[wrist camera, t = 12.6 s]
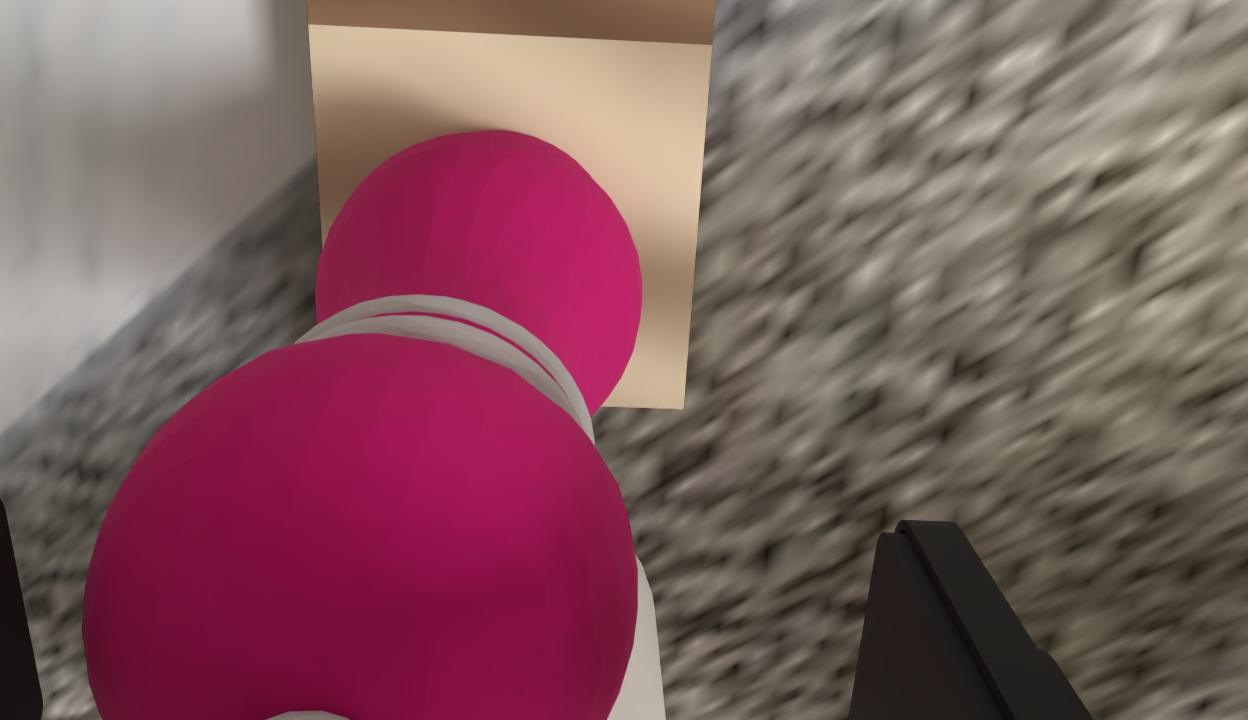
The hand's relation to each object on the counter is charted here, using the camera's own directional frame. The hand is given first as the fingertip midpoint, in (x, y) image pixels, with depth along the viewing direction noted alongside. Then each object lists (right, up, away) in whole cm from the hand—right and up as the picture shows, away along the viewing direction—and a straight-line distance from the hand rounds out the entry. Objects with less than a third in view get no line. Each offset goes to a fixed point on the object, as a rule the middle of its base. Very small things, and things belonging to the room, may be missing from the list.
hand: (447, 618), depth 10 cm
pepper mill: (-1, +6, +16) cm, 17 cm away
